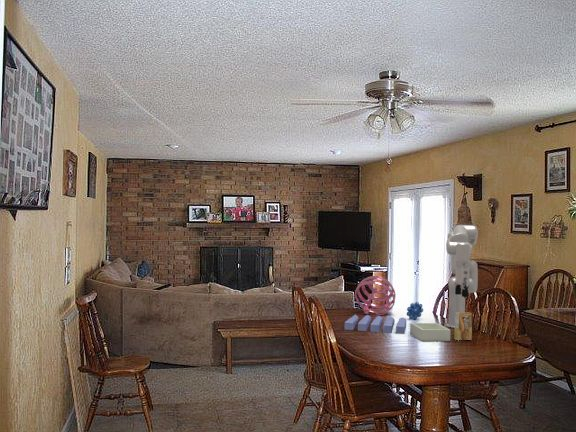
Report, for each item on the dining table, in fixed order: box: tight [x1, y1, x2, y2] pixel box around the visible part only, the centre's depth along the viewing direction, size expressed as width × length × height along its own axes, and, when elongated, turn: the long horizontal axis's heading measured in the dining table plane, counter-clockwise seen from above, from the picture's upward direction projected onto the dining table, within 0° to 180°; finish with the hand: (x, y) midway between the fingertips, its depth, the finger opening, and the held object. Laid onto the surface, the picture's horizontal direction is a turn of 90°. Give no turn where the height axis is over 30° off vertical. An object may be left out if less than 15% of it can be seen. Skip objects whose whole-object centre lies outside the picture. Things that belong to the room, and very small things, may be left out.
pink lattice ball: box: [354, 275, 396, 317], centre depth 394 cm, size 28×28×27 cm
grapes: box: [406, 301, 424, 321], centre depth 378 cm, size 12×7×12 cm, turn 99°
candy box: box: [453, 311, 473, 342], centre depth 314 cm, size 9×4×15 cm, turn 110°
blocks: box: [344, 313, 407, 335], centre depth 348 cm, size 35×34×5 cm
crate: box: [409, 322, 451, 343], centre depth 319 cm, size 16×20×6 cm
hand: (461, 295), depth 316 cm, fingers open, 9 cm apart
